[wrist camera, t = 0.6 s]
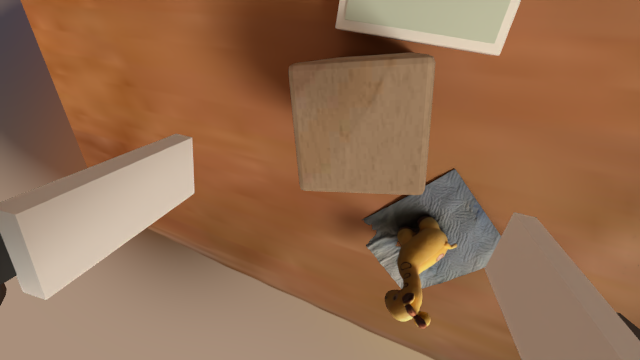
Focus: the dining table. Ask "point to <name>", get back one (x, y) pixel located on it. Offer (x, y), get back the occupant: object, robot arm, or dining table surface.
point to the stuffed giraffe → (430, 242)
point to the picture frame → (433, 21)
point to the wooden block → (363, 122)
